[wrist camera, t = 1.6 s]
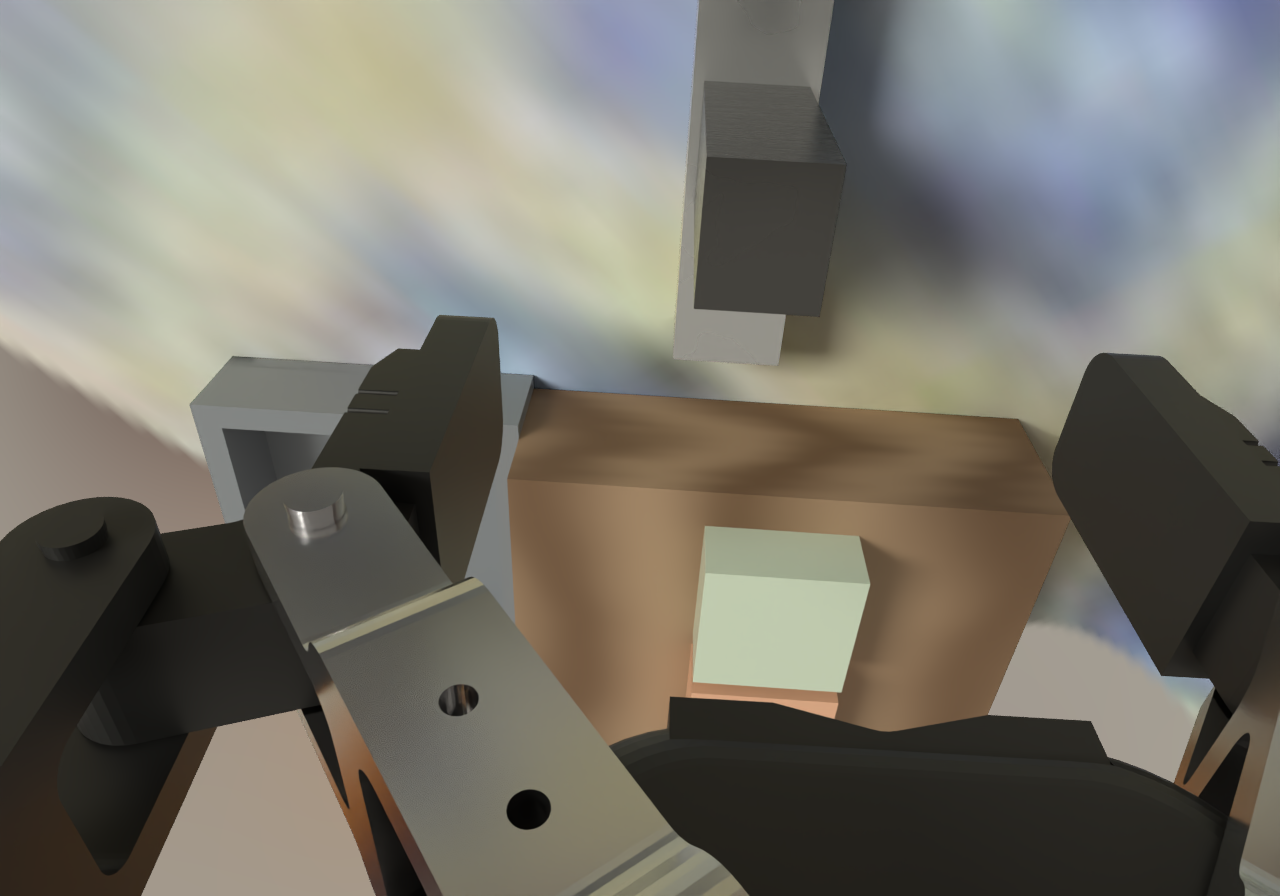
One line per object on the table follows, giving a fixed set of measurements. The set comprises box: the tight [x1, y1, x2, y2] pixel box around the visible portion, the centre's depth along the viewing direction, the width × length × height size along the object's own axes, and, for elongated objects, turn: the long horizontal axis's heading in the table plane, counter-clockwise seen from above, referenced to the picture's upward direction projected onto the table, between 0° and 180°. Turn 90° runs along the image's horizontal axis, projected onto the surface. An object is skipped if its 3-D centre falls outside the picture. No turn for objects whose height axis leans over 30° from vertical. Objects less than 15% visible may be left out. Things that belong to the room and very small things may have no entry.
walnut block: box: [507, 388, 1071, 746], centre depth 30 cm, size 16×12×5 cm
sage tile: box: [693, 526, 870, 692], centre depth 26 cm, size 4×4×2 cm
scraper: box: [673, 0, 846, 366], centre depth 20 cm, size 3×12×9 cm, turn 177°
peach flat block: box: [686, 644, 838, 719], centre depth 29 cm, size 4×4×2 cm
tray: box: [190, 356, 534, 624], centre depth 31 cm, size 10×12×3 cm
